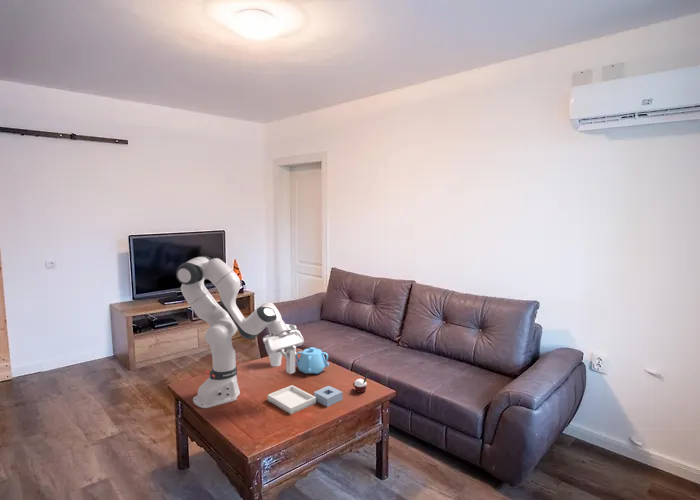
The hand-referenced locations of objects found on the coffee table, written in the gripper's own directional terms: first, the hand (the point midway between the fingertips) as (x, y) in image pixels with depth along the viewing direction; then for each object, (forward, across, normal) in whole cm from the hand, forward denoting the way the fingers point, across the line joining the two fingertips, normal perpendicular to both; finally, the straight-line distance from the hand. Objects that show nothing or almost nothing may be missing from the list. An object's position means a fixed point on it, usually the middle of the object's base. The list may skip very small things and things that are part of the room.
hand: (291, 356), depth 194 cm
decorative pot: (+1, +31, +32) cm, 45 cm away
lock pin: (+5, 0, +6) cm, 8 cm away
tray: (+16, 0, +16) cm, 23 cm away
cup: (-15, +21, +48) cm, 54 cm away
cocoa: (+27, +32, +5) cm, 42 cm away
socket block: (+24, +14, +8) cm, 29 cm away
